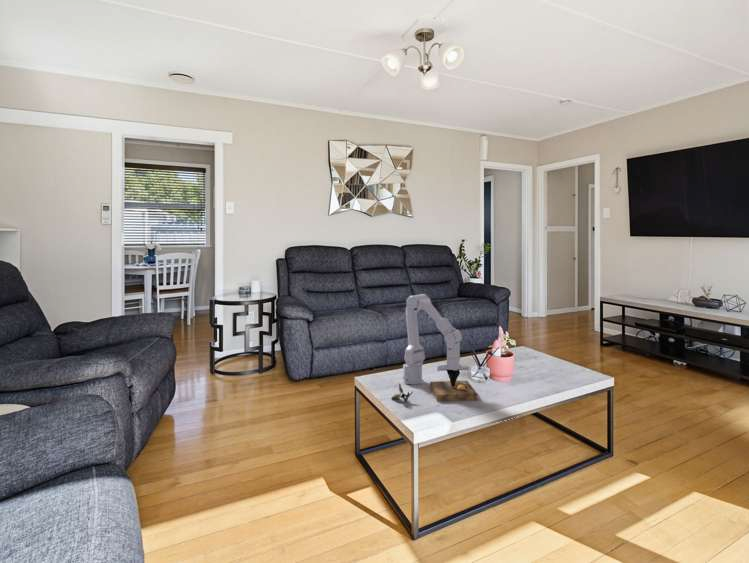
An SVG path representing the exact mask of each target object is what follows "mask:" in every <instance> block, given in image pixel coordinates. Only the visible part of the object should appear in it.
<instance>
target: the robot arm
mask: <svg viewBox="0 0 749 563" xmlns="http://www.w3.org/2000/svg"><path fill="white" fill-rule="evenodd" d="M405 303H406V306H405V321H406V329H407V331H406V332H407V333H406V334H407V343H408V345H407V346H406V348H405V349H404V352H405V353H404V361H405V362H404V364H403V365H402V372H403V373H402V380H403V383H404V384H405V385H417V384H418V385H420V384H421V385H423V384H425V382H424V380H423V364H424V361H425V359H426V354H425V351H424V347H423V346H422V345H421V344H420V335H419V322H418V321H419V320H418V313H419V312H420V311H425V312H426V313H427V314H428V315H429V317H431V318H432V319H433V321H435V327H436V328H437V329H438V330H439V331H440V333H441V334H442V335H443V336H444V337H443V338H444V342H445V344H446V364H442V365H437V366H436V371H437V372H440V371H446V372H447V375H448V378H449V381H450V382H451V386H455V383H456V381H458V380H457V379H458V377H459V375H460V373H461V372H460V371H470V366H469V364H460V358H461V356H460V355H461V354H460V353H461V352H460V351H461V342H462V340H463V334H462V331H461V330H460V329H457V328H455V327H453V324H451V323H450V320H449V319H448V318H447V317H442V316H441V314H440V313H439V312H438V310H437V309H436V307H435V306H434V305H433V303H432V302H431V298H429V296H428V294H426V293H420V294H415V295H413V294H412V295H409V296H408V297H407V299H406V302H405Z"/></svg>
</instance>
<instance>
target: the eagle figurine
mask: <svg viewBox="0 0 749 563" xmlns="http://www.w3.org/2000/svg"><path fill="white" fill-rule="evenodd" d="M401 385H402V384H401V383H398V390H399V391H398V392H399V393H398V394H394V395H393V396H392V397H391V399H395V400H396V399H397V400H398V399H403V400H404V401H405V403H406V402H408V399H409V397H410V396H411V395H412V394H413V393H414V391H413V390H412V391H411V392H409V391H408V392H407V394H405V393H404V390H403V388H402V386H401Z"/></svg>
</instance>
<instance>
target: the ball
mask: <svg viewBox="0 0 749 563" xmlns="http://www.w3.org/2000/svg"><path fill="white" fill-rule="evenodd" d="M457 389H461V390H463V389H466V388H465V386H464V385H459V386H458V387H457Z"/></svg>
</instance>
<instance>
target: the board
mask: <svg viewBox="0 0 749 563" xmlns="http://www.w3.org/2000/svg"><path fill="white" fill-rule="evenodd" d="M459 385H464V386H465V388H466V389H463V390H461V389H457V387H458V386H459ZM429 389H430V390H432V391H431V393H432V392H433V393H432V395H433V394H434V395H433V396H434V398H435V400H436V402H455V401H456V402H460V401H461V402H462V401H478V393H477V391H476V390H475V389H474V387H473V386H472V384H470V382H469V381H468V380H456V383H455V386H451V382H450V380H444V381H443V380H442V381H440V380H439V381H430V382H429Z"/></svg>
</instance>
